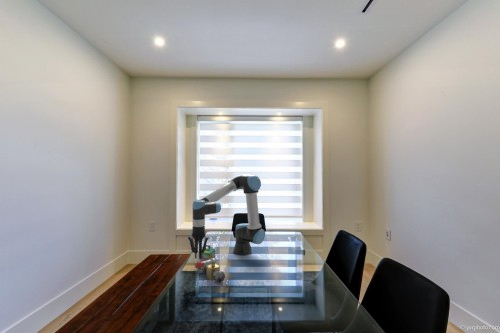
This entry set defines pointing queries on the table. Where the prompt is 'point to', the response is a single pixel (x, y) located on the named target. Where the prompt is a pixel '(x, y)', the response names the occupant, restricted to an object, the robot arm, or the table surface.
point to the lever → (205, 263)
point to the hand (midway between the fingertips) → (198, 263)
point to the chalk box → (207, 254)
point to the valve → (214, 272)
